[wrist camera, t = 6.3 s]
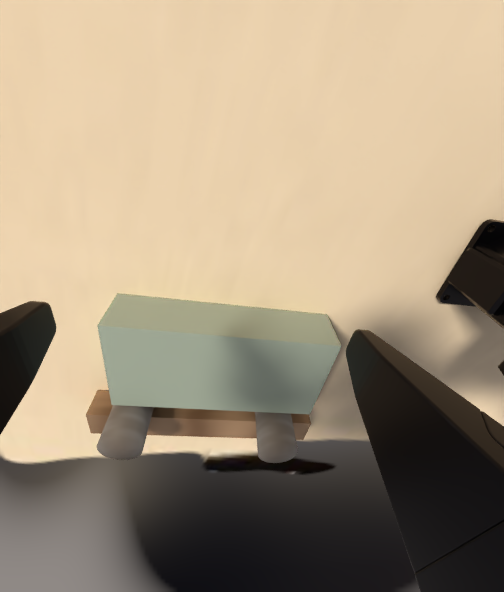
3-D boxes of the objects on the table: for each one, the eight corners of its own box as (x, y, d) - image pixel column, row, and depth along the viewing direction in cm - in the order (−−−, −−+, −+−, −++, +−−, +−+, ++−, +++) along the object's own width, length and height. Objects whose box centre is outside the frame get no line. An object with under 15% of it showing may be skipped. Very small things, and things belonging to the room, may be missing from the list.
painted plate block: (325, 311, 23) (341, 346, 19) (300, 377, 27) (309, 414, 24) (119, 290, 20) (97, 325, 17) (127, 365, 25) (111, 404, 22)
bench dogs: (313, 381, 27) (331, 443, 22) (298, 416, 30) (311, 478, 25) (92, 367, 24) (56, 435, 19) (101, 408, 27) (72, 475, 22)
